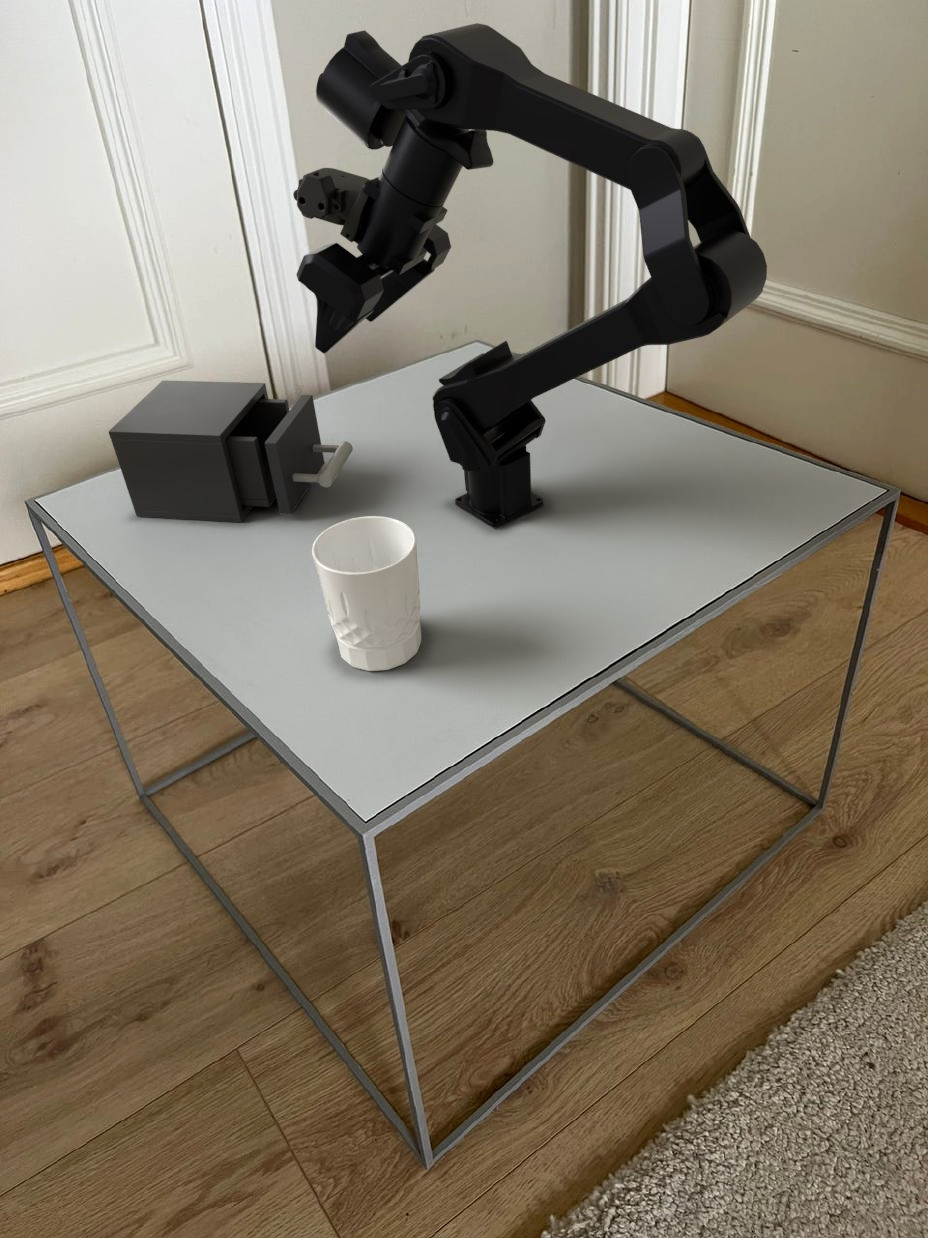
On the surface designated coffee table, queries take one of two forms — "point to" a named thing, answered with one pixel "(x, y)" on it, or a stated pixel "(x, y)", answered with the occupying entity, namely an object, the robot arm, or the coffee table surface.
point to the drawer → (281, 453)
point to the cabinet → (184, 449)
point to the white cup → (371, 590)
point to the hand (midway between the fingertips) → (344, 333)
